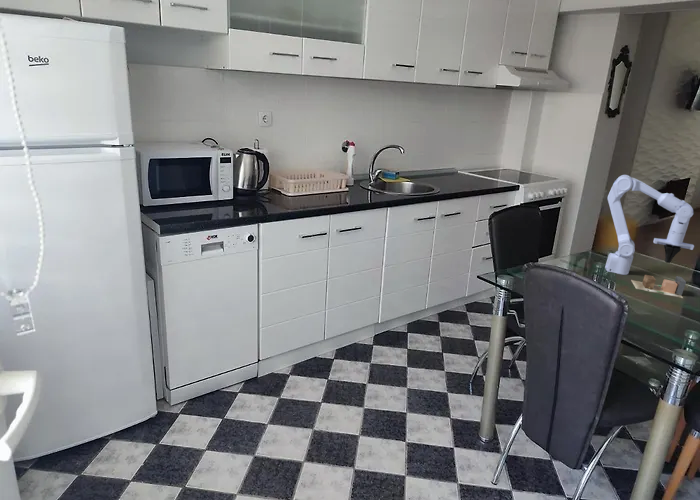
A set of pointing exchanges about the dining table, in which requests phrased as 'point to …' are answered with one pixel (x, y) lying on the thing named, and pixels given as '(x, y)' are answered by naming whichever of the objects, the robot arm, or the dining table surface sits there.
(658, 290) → the gauge board
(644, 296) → the dining table surface
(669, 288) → the peach matte cube
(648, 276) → the brown box with peg
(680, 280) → the grey flat block
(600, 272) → the dining table surface
